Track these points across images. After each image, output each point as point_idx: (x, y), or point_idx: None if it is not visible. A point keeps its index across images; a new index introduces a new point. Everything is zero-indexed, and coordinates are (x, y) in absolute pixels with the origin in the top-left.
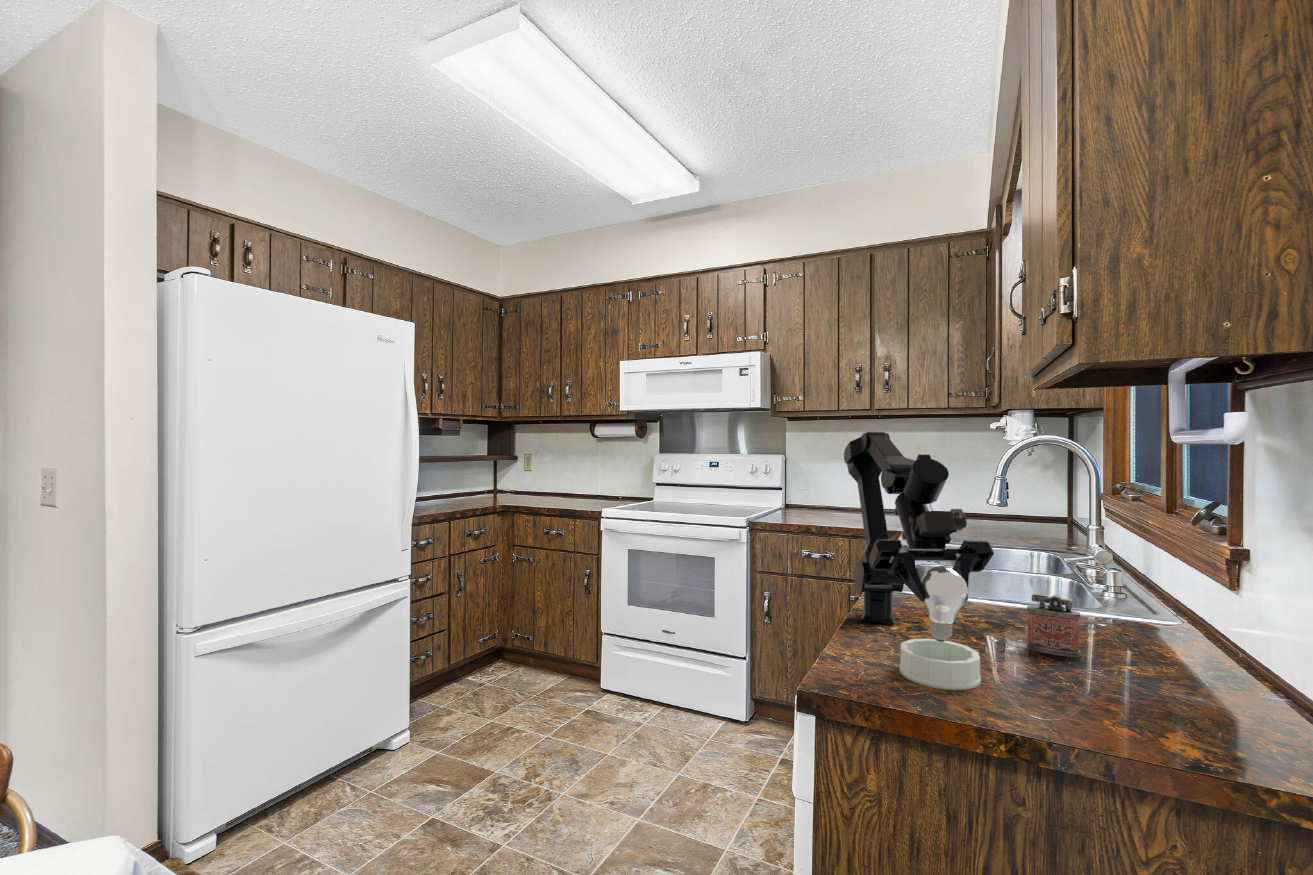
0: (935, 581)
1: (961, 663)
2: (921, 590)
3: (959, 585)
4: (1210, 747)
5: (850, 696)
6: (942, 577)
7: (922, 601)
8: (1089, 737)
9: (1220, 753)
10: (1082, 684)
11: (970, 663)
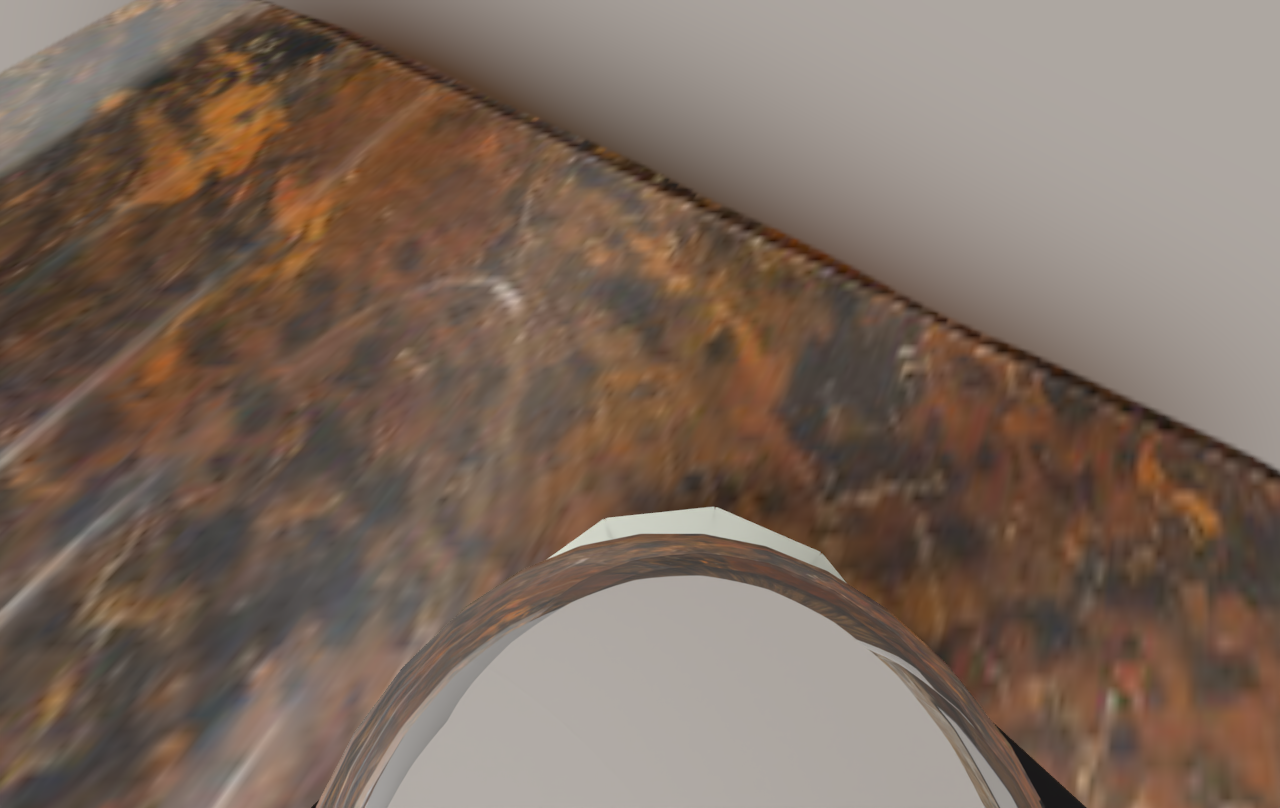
0: (946, 668)
1: (654, 514)
2: (1051, 802)
3: (569, 559)
4: (149, 129)
5: (1166, 463)
6: (849, 639)
7: None
8: (443, 174)
9: (161, 103)
10: (44, 600)
11: (601, 521)
